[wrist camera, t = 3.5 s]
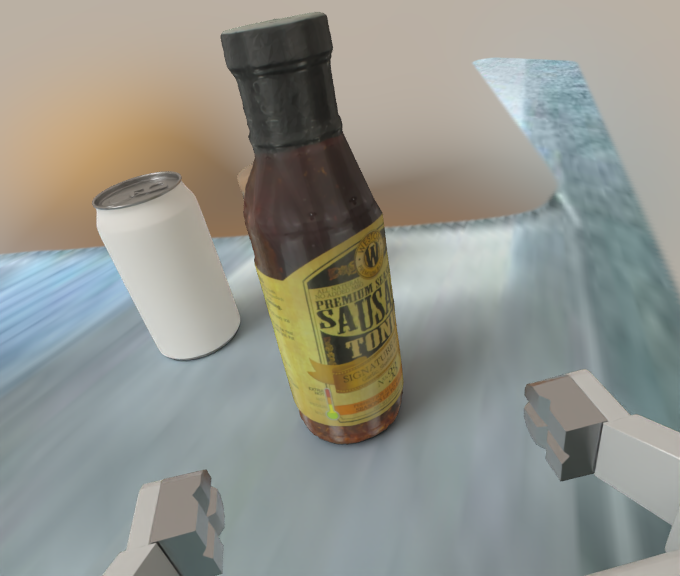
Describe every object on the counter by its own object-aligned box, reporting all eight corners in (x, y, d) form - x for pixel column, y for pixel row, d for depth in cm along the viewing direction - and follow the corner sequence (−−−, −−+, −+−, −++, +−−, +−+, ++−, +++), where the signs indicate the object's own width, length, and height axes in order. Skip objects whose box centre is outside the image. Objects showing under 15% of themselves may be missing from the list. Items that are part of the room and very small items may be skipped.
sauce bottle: (363, 470, 24) (253, 32, 13) (278, 421, 28) (140, 49, 17) (430, 387, 28) (386, -6, 17) (348, 353, 32) (270, 15, 21)
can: (155, 329, 39) (85, 190, 32) (232, 299, 40) (180, 161, 34) (164, 376, 33) (83, 221, 27) (251, 340, 35) (195, 185, 29)
